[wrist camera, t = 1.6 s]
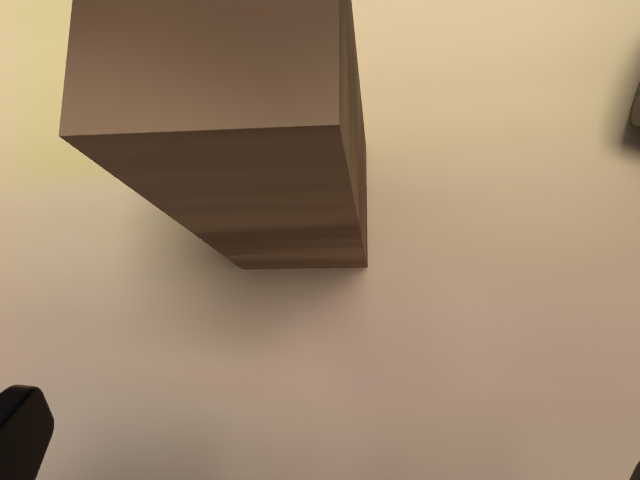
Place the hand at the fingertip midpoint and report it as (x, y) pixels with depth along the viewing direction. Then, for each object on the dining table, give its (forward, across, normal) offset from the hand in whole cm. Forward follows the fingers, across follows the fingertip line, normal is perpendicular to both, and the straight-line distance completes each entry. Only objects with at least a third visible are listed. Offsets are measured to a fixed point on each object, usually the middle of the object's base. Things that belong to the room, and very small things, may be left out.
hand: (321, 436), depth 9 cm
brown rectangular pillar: (+15, +3, +6) cm, 16 cm away
